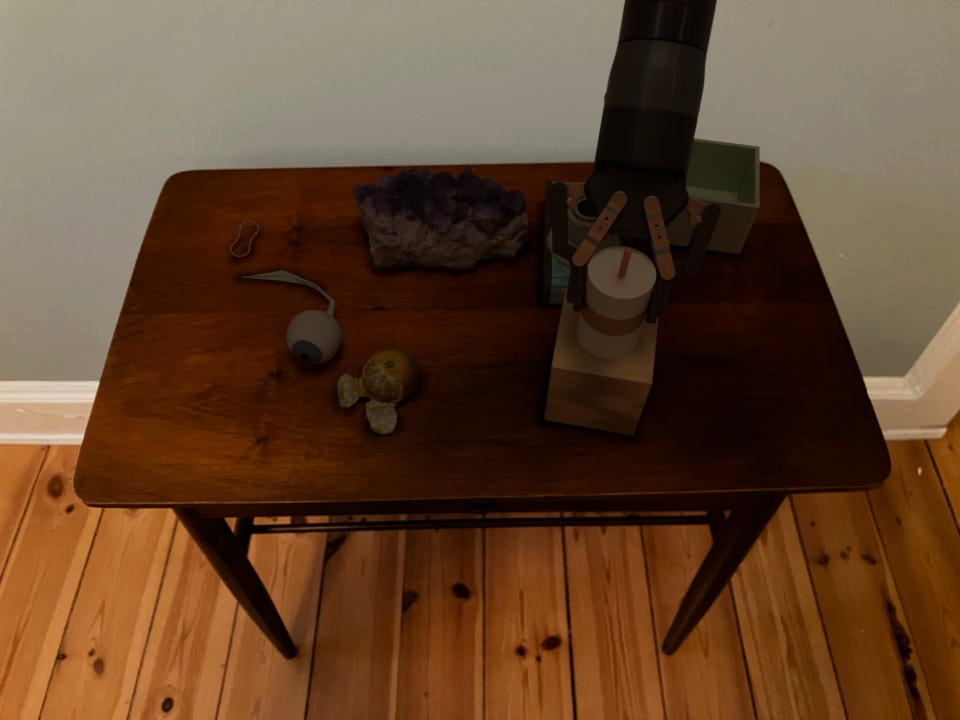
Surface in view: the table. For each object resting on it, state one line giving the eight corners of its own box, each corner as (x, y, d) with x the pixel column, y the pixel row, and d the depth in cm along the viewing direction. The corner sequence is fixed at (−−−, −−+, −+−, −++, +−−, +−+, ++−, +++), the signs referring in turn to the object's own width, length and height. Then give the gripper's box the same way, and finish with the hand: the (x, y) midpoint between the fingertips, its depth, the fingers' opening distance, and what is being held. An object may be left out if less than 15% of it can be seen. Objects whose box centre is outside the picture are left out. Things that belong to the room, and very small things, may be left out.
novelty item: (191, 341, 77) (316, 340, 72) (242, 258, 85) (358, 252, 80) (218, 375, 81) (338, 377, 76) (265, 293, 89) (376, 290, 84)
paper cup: (640, 315, 69) (669, 216, 58) (635, 365, 66) (664, 271, 55) (580, 305, 70) (597, 206, 59) (572, 354, 67) (588, 259, 56)
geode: (524, 200, 92) (533, 144, 83) (529, 280, 87) (538, 230, 78) (360, 199, 91) (349, 142, 82) (355, 279, 86) (343, 229, 77)
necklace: (226, 255, 87) (225, 252, 86) (244, 220, 89) (243, 217, 88) (246, 260, 86) (245, 257, 86) (263, 224, 89) (262, 222, 88)
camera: (549, 140, 83) (638, 144, 83) (544, 202, 91) (625, 205, 91) (548, 251, 74) (648, 255, 74) (541, 308, 82) (632, 312, 82)
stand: (641, 361, 78) (659, 304, 70) (633, 435, 74) (652, 383, 65) (557, 347, 79) (565, 289, 71) (543, 420, 75) (551, 366, 66)
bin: (740, 194, 92) (759, 146, 85) (739, 254, 86) (759, 207, 80) (659, 183, 93) (672, 135, 87) (653, 241, 88) (666, 194, 81)
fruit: (327, 393, 76) (321, 375, 73) (385, 344, 80) (381, 324, 77) (383, 441, 73) (379, 424, 70) (441, 387, 77) (439, 368, 74)
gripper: (559, 91, 56) (526, 308, 60) (752, 115, 55) (705, 337, 58) (563, 105, 64) (533, 298, 67) (733, 127, 62) (693, 323, 66)
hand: (613, 315), depth 63 cm, fingers closed on paper cup, 5 cm apart
